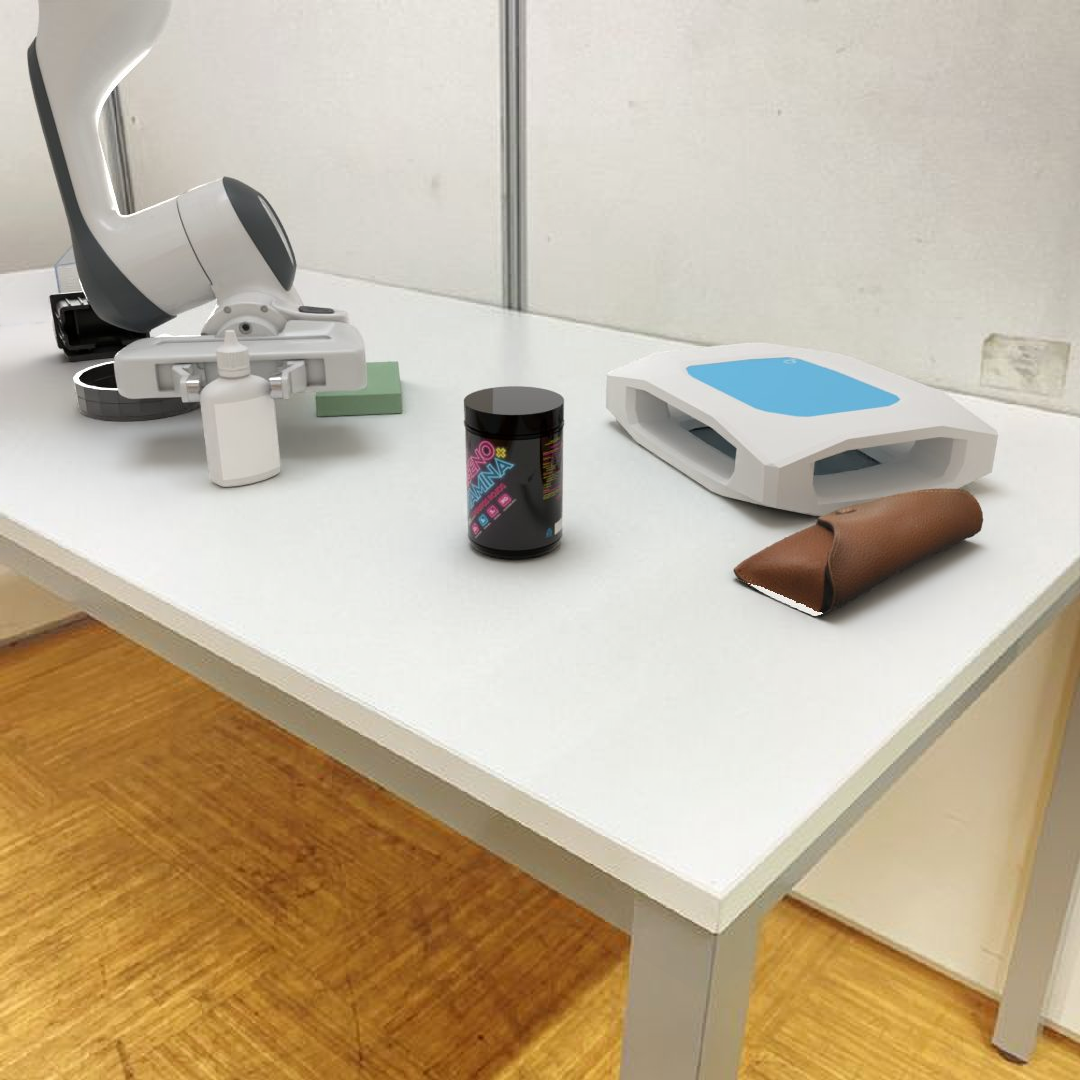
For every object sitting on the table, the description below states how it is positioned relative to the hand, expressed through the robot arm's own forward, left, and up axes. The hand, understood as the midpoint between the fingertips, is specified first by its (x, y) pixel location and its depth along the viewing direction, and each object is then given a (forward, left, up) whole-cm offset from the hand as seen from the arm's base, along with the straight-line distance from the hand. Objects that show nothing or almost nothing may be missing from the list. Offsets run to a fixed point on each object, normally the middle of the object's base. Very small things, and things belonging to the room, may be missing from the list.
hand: (235, 390), depth 88 cm
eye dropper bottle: (0, +1, -8) cm, 8 cm away
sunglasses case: (+43, -22, -8) cm, 48 cm away
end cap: (-20, +46, -8) cm, 51 cm away
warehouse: (-25, +86, -8) cm, 90 cm away
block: (+9, +23, -8) cm, 26 cm away
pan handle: (-12, +35, -6) cm, 37 cm away
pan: (-12, +24, -8) cm, 28 cm away
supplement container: (+20, -15, -8) cm, 26 cm away
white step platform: (+45, +1, -8) cm, 46 cm away
